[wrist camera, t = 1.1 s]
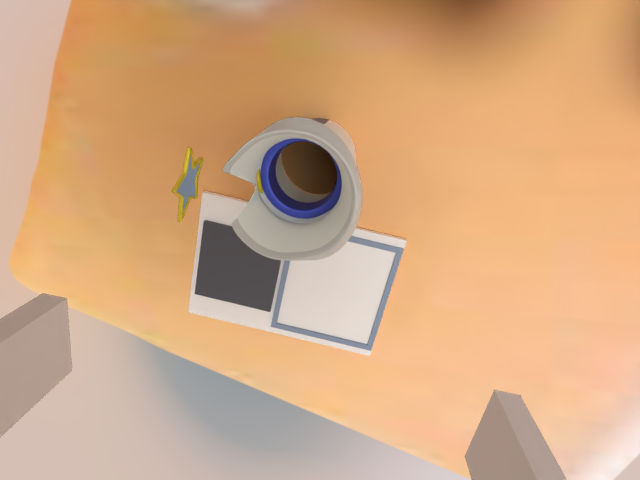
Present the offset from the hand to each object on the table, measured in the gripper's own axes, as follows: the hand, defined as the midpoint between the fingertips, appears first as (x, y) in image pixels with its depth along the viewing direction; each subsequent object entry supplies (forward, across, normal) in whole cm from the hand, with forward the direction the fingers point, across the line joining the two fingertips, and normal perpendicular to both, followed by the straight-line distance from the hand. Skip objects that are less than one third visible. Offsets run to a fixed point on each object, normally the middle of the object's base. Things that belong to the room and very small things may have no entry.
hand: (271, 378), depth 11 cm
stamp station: (+29, -3, -11) cm, 32 cm away
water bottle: (+30, -2, +2) cm, 30 cm away
